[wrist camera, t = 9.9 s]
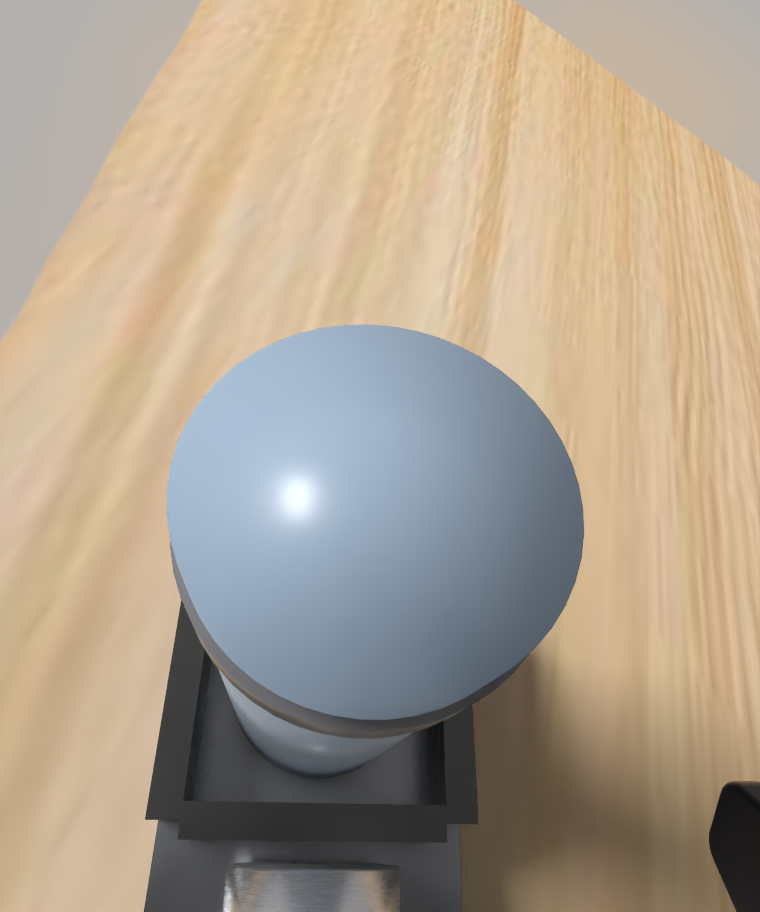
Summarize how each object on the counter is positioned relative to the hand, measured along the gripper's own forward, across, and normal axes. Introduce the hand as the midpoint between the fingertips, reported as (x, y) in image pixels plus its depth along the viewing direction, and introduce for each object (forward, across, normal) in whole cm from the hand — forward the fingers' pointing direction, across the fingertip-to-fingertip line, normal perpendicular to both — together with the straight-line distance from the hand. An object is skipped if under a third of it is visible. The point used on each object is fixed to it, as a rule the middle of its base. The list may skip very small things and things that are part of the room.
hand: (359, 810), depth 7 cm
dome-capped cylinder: (+10, 0, +6) cm, 12 cm away
